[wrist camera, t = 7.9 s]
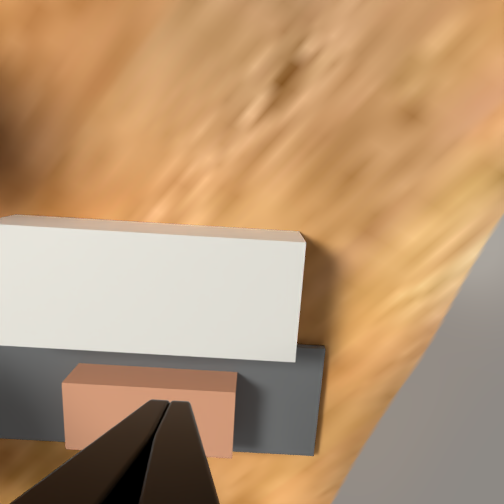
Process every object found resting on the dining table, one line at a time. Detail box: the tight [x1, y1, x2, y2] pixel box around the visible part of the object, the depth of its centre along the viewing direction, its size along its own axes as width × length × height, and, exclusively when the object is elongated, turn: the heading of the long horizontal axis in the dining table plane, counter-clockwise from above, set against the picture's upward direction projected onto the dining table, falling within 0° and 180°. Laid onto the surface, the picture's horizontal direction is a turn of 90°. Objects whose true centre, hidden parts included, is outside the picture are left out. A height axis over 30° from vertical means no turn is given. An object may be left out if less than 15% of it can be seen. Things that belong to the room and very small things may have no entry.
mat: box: [0, 344, 325, 456], centre depth 22 cm, size 19×7×1 cm, turn 87°
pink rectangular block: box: [62, 363, 237, 458], centre depth 21 cm, size 9×4×2 cm, turn 87°
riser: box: [0, 214, 306, 362], centre depth 20 cm, size 15×6×3 cm, turn 87°
